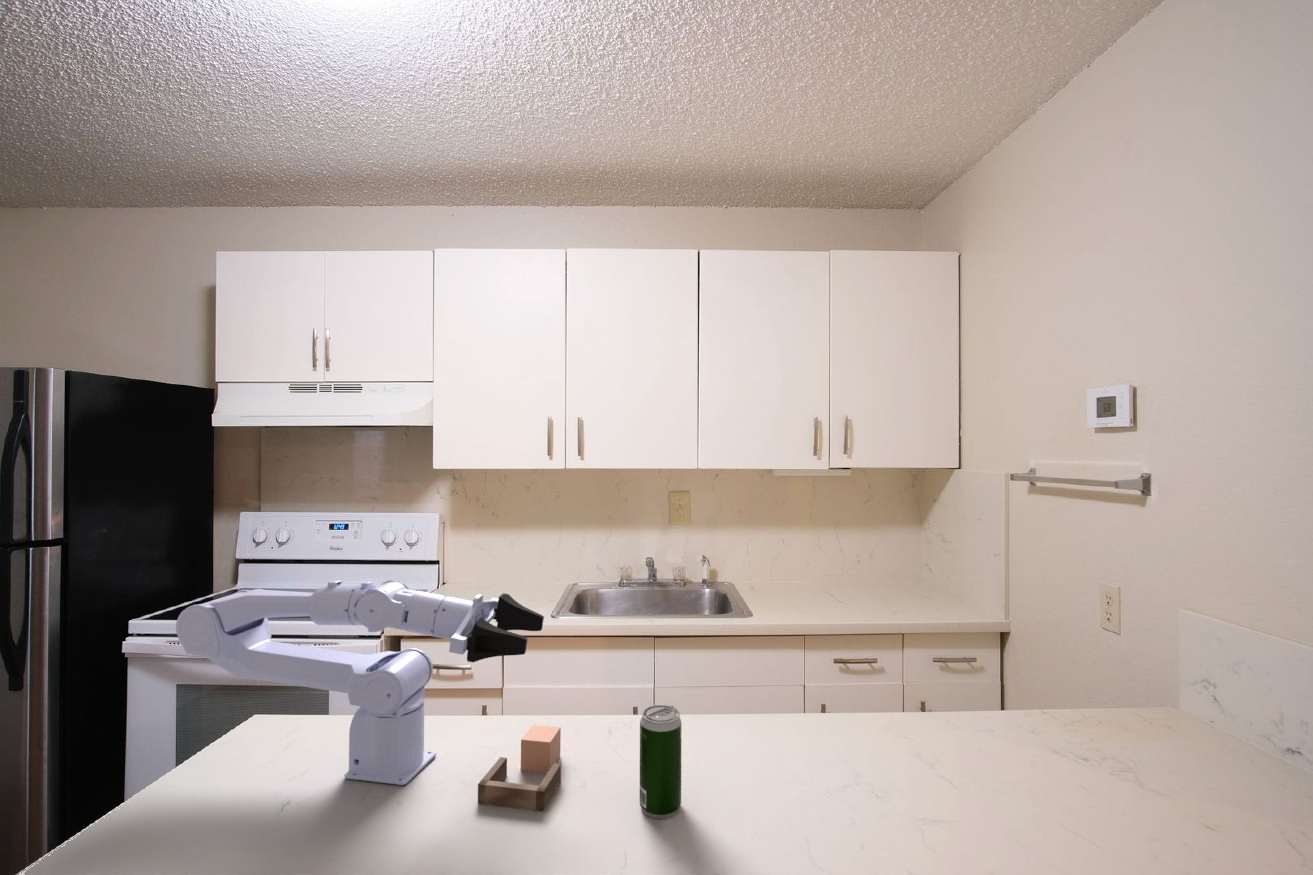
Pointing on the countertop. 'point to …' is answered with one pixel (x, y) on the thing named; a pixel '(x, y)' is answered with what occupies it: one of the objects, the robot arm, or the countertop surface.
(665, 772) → the beer can
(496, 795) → the walnut bay
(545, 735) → the terracotta block
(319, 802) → the countertop surface
